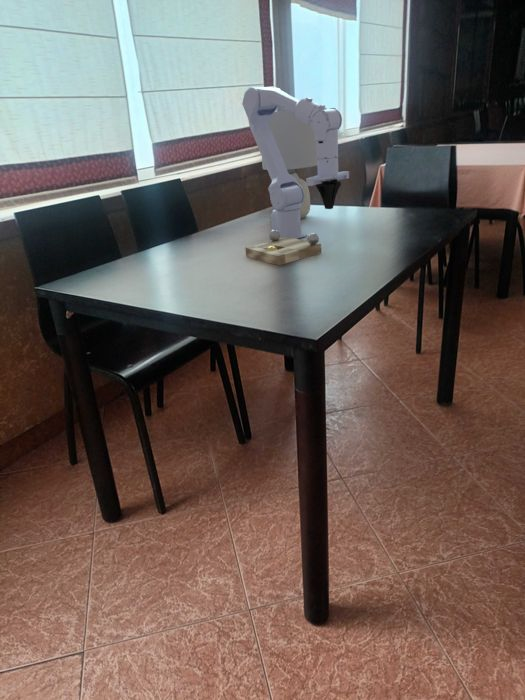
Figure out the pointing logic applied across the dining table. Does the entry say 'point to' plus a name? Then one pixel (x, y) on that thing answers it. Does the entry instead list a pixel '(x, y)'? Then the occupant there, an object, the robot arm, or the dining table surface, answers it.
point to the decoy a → (274, 235)
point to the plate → (283, 250)
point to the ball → (272, 248)
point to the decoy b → (312, 238)
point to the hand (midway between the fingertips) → (329, 208)
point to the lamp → (294, 148)
